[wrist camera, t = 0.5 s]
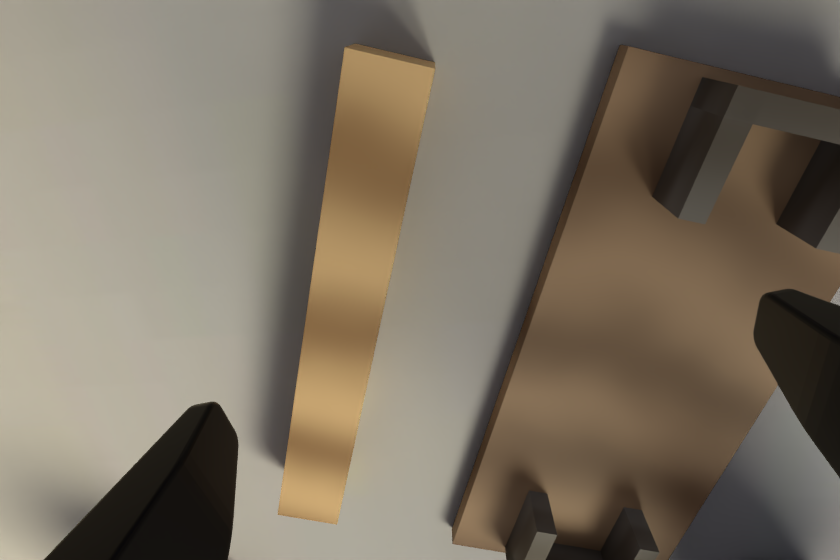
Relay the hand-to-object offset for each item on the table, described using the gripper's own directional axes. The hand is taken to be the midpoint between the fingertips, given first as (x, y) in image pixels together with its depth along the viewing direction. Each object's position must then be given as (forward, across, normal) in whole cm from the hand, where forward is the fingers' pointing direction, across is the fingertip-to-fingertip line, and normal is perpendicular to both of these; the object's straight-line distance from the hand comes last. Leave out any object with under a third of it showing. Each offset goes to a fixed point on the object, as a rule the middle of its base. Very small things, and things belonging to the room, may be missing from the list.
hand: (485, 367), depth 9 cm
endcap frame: (+12, -8, +13) cm, 19 cm away
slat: (+14, +5, +8) cm, 17 cm away
